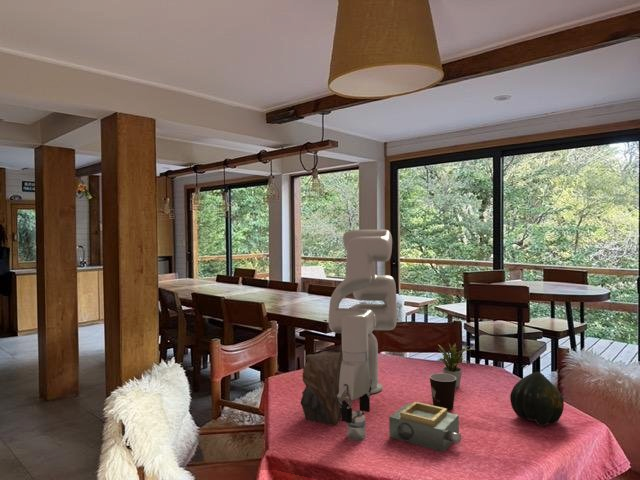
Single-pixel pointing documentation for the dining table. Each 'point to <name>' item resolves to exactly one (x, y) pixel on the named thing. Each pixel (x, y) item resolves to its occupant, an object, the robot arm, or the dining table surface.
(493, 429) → the dining table surface
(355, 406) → the dining table surface
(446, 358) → the house plant
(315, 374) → the brown rock
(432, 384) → the coffee mug
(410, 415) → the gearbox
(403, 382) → the dining table surface
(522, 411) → the squash
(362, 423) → the silver lidded pot
